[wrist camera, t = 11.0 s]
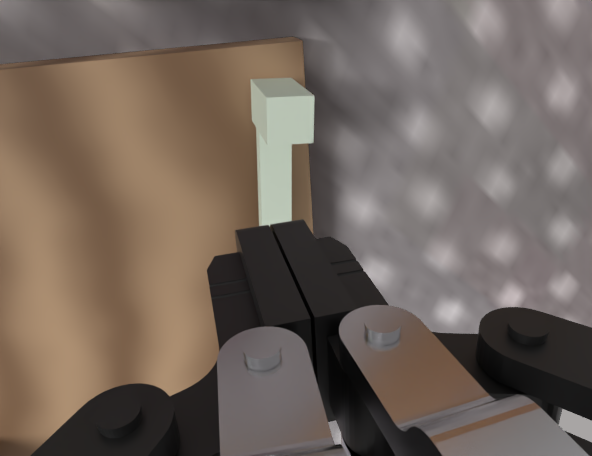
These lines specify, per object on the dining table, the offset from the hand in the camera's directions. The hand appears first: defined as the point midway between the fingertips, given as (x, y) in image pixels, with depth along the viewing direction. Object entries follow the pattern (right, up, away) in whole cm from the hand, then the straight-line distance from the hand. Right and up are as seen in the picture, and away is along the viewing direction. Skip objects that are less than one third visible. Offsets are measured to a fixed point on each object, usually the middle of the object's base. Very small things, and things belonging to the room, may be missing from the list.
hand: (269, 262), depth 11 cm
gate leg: (-1, +3, +16) cm, 16 cm away
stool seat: (-10, -2, +18) cm, 21 cm away
